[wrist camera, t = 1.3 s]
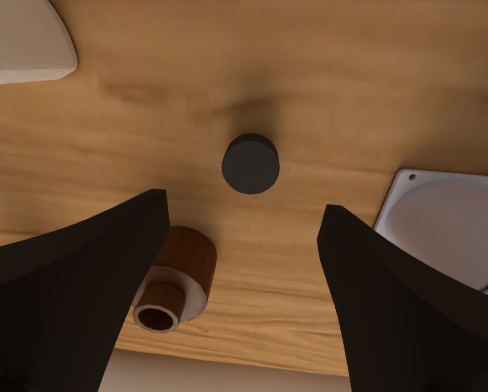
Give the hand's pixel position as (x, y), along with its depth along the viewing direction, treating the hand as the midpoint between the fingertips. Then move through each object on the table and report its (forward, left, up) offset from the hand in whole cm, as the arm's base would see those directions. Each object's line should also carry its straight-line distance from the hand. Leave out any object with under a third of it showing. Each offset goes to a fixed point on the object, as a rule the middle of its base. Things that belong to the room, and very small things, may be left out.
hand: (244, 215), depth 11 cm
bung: (0, 0, -8) cm, 8 cm away
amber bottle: (+6, +11, -8) cm, 15 cm away
